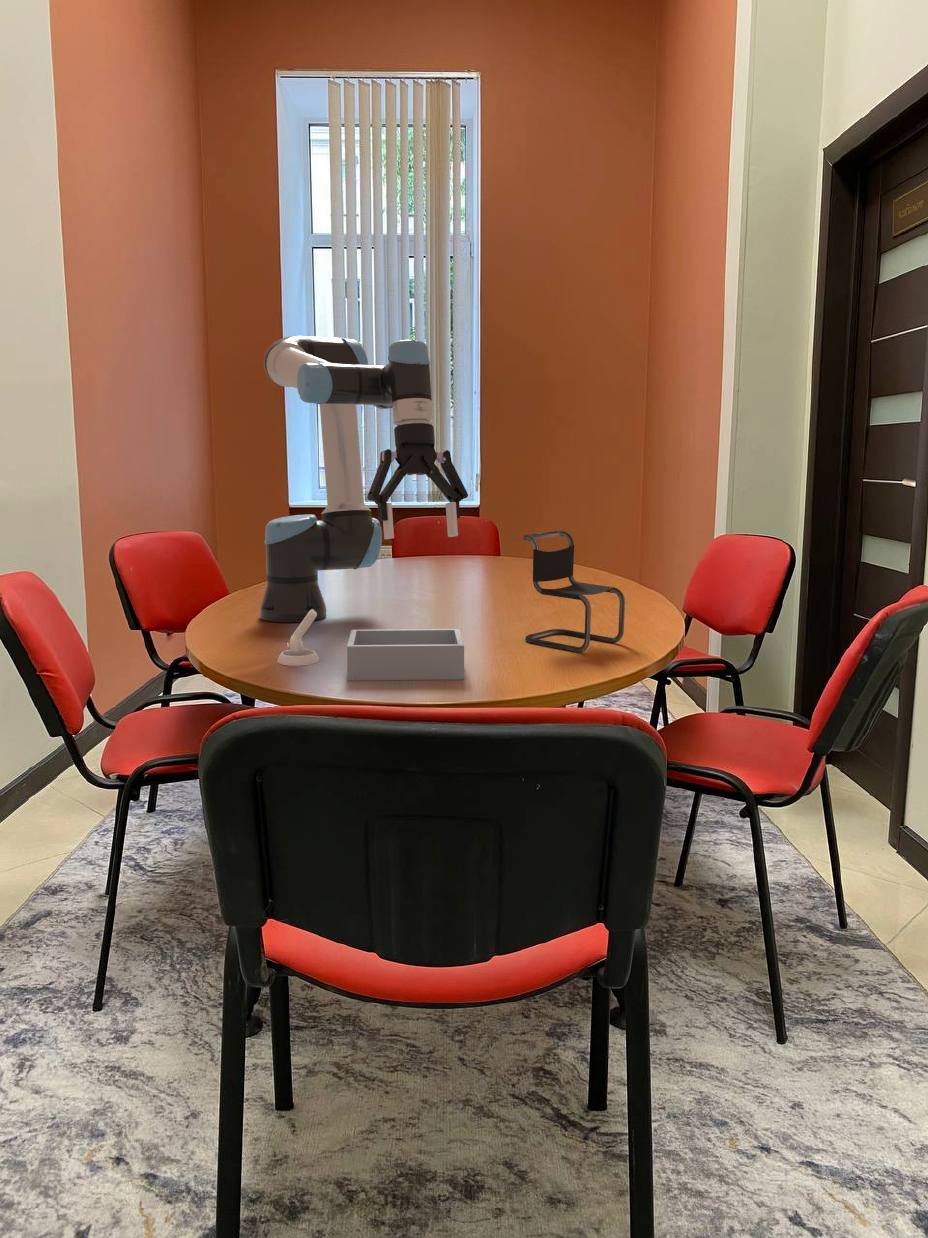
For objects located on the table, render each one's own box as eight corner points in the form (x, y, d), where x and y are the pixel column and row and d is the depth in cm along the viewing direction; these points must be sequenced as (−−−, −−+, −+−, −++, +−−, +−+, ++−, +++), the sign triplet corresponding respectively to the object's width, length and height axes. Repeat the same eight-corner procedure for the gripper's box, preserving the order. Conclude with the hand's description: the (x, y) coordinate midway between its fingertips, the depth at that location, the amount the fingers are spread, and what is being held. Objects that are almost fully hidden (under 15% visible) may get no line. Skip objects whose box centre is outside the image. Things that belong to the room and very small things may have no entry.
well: (352, 661, 169) (351, 629, 168) (459, 660, 170) (459, 628, 169) (347, 680, 155) (346, 646, 154) (464, 679, 157) (464, 645, 155)
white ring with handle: (341, 638, 164) (308, 618, 162) (304, 687, 168) (272, 668, 165) (342, 622, 171) (310, 602, 169) (307, 669, 174) (276, 650, 172)
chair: (556, 632, 196) (559, 530, 192) (624, 644, 185) (628, 536, 180) (517, 641, 187) (519, 534, 183) (587, 655, 175) (590, 541, 171)
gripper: (360, 419, 162) (369, 538, 162) (480, 423, 174) (488, 533, 175) (344, 427, 168) (353, 541, 169) (461, 430, 181) (468, 537, 181)
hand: (421, 537), depth 172 cm, fingers open, 13 cm apart
